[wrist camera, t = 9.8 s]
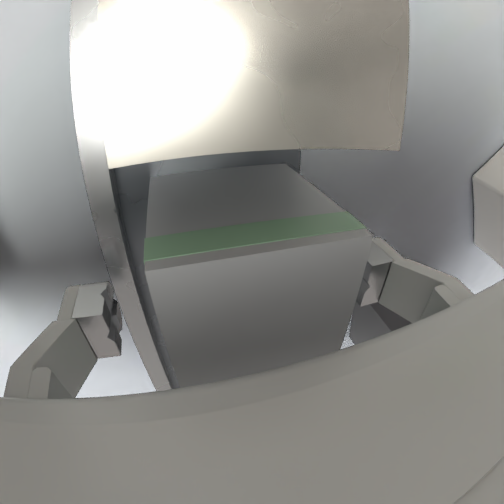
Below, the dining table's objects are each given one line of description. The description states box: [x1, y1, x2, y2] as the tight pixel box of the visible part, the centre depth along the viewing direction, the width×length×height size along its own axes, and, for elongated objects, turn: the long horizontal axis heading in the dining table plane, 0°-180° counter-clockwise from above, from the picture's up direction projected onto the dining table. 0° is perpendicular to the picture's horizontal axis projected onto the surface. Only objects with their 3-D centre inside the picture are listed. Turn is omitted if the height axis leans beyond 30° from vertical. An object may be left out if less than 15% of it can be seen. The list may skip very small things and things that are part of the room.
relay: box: [349, 302, 412, 345], centre depth 17 cm, size 4×5×5 cm
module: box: [144, 164, 373, 388], centre depth 9 cm, size 4×6×5 cm
